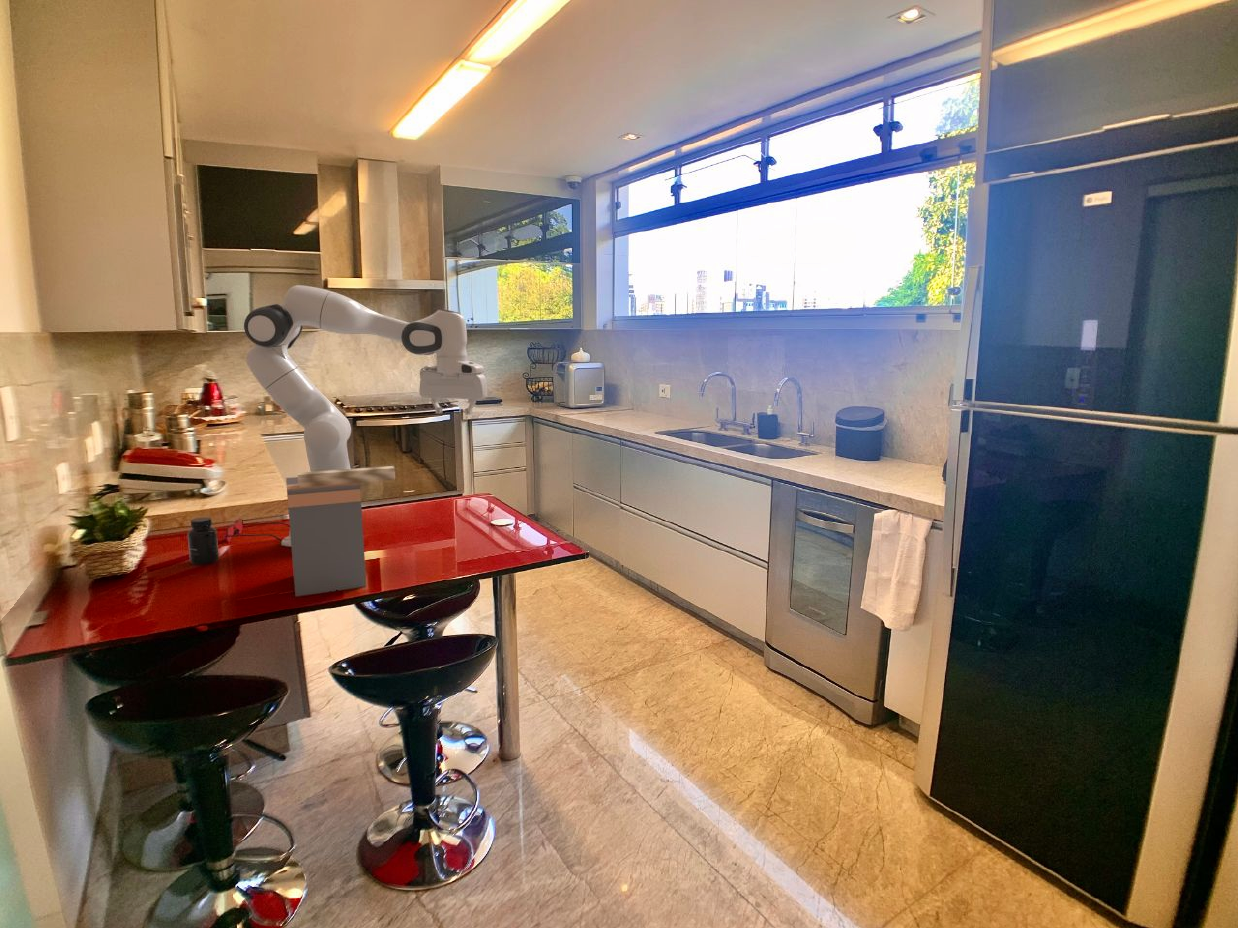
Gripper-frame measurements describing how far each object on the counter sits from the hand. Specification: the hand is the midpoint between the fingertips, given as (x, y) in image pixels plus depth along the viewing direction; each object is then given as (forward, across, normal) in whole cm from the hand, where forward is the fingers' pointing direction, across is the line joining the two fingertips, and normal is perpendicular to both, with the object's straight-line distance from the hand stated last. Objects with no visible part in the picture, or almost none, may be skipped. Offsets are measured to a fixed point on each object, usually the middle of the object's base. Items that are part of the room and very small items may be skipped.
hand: (453, 413), depth 200 cm
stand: (+39, -17, -40) cm, 58 cm away
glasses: (+40, -61, -9) cm, 74 cm away
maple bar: (+13, -10, -40) cm, 43 cm away
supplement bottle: (+39, -59, -34) cm, 79 cm away
